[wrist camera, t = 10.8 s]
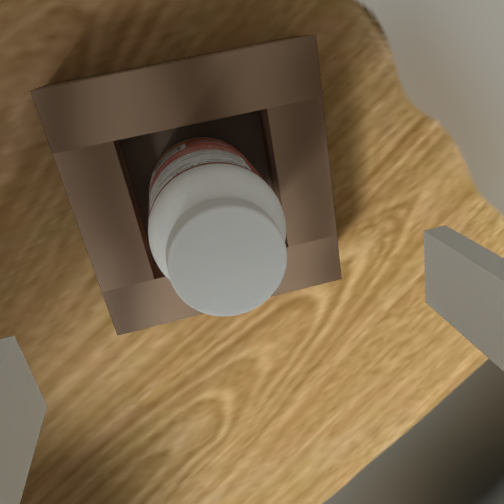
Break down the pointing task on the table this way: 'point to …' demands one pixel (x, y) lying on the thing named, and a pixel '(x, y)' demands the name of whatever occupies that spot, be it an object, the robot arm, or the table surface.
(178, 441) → the table surface
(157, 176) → the pill bottle
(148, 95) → the bore block
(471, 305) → the robot arm
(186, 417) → the table surface
